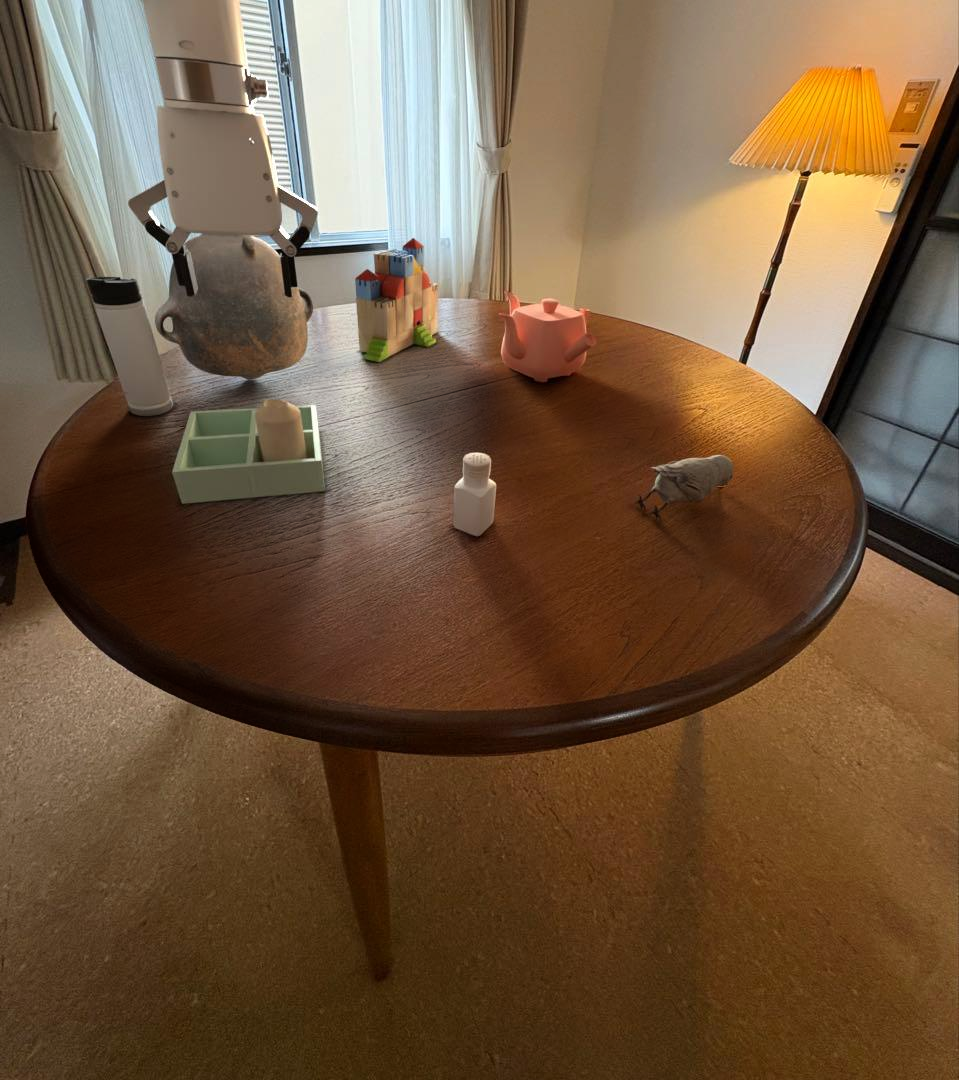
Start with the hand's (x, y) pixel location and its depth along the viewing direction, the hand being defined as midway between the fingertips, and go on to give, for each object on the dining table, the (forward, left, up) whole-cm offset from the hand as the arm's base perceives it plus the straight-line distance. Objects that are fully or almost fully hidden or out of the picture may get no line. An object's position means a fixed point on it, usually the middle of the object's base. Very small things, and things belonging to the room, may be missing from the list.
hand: (241, 293), depth 60 cm
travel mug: (-20, +27, -24) cm, 41 cm away
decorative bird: (+53, -14, -24) cm, 60 cm away
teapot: (+50, +36, -24) cm, 67 cm away
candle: (+1, +2, -23) cm, 24 cm away
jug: (-5, +38, -24) cm, 45 cm away
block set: (+25, +57, -24) cm, 67 cm away
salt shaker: (+23, -14, -24) cm, 36 cm away
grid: (-3, +6, -24) cm, 25 cm away
